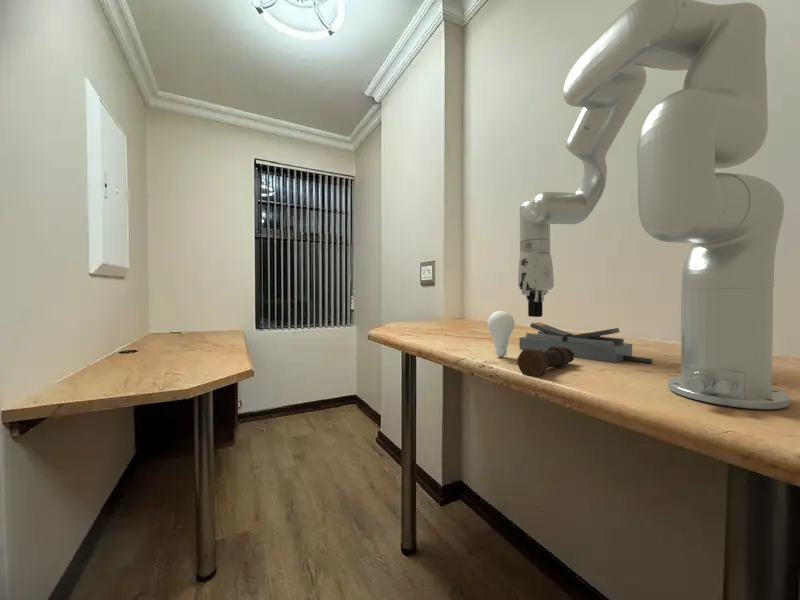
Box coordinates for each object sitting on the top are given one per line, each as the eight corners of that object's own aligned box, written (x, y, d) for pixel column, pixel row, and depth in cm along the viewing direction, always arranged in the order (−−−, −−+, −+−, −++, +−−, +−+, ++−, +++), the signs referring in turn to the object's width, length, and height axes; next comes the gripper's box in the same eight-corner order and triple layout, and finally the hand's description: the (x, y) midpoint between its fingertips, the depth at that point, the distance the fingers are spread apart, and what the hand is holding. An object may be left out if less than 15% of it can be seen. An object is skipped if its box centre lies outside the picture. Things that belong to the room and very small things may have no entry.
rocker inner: (612, 335, 73) (610, 328, 73) (572, 341, 80) (570, 335, 80) (620, 333, 75) (618, 327, 76) (580, 339, 82) (578, 333, 83)
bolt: (570, 373, 71) (533, 384, 61) (550, 358, 74) (512, 367, 65) (585, 351, 68) (548, 359, 59) (563, 336, 72) (526, 342, 62)
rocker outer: (561, 340, 82) (563, 334, 82) (529, 327, 89) (531, 322, 89) (570, 338, 84) (571, 333, 84) (538, 326, 91) (539, 321, 91)
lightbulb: (482, 356, 81) (482, 310, 80) (504, 354, 83) (504, 309, 82) (497, 360, 75) (496, 312, 75) (520, 358, 77) (519, 311, 76)
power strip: (643, 367, 66) (643, 346, 66) (519, 348, 89) (519, 333, 89) (659, 360, 72) (659, 341, 72) (538, 344, 94) (538, 330, 94)
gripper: (531, 244, 82) (532, 319, 82) (563, 248, 91) (563, 315, 91) (505, 248, 88) (506, 317, 88) (537, 250, 97) (537, 314, 97)
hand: (535, 316), depth 90 cm, fingers closed
